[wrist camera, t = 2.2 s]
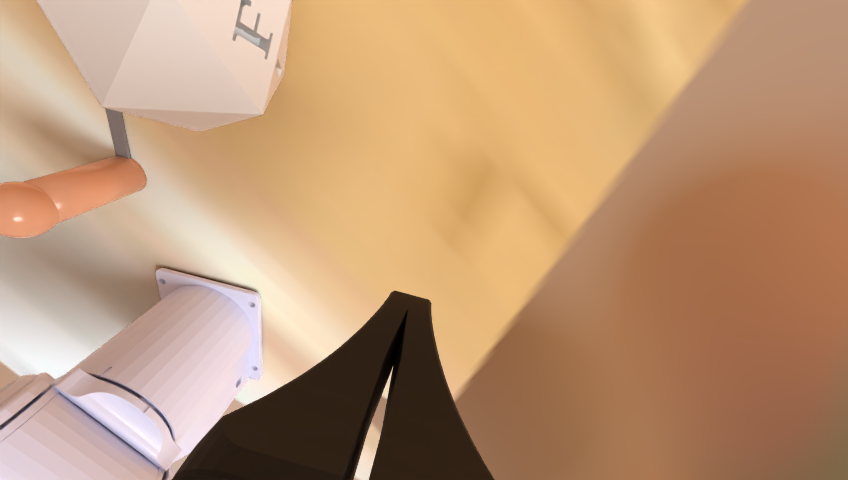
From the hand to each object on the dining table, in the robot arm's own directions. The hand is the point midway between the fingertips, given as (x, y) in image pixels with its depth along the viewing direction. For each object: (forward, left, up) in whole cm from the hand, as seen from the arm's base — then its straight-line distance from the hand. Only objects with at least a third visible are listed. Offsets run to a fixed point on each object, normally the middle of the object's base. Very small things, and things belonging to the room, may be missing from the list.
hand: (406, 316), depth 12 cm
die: (+7, +12, -10) cm, 17 cm away
